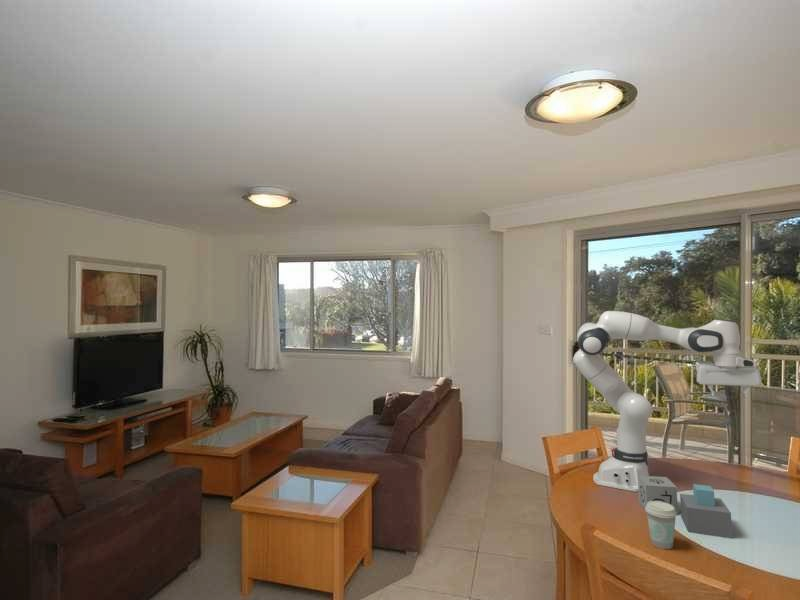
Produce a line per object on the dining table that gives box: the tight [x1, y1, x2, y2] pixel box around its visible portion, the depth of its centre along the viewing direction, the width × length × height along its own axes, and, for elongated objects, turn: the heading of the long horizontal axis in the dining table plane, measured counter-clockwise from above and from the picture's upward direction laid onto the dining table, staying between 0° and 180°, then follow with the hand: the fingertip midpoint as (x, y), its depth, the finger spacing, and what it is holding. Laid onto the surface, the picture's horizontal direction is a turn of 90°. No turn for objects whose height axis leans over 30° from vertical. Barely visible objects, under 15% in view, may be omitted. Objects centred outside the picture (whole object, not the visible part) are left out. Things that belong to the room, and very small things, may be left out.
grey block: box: [679, 493, 733, 539], centre depth 150 cm, size 12×12×8 cm
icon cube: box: [637, 475, 679, 517], centre depth 164 cm, size 10×10×10 cm
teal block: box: [692, 483, 716, 507], centre depth 150 cm, size 5×5×5 cm
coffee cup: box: [644, 501, 677, 550], centre depth 139 cm, size 8×8×12 cm
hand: (728, 396), depth 171 cm, fingers open, 8 cm apart
